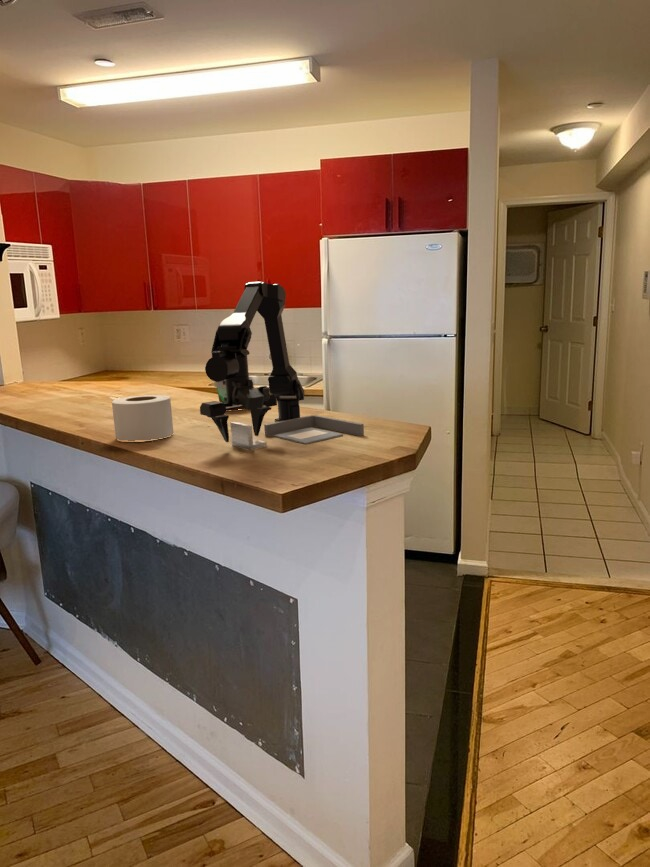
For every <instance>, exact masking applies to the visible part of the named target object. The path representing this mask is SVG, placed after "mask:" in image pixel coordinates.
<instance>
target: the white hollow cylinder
mask: <svg viewBox="0 0 650 867" xmlns="http://www.w3.org/2000/svg"><path fill="white" fill-rule="evenodd" d="M111 407H112V415H113V423H114V424H113V425H114V433H115V434H114V436H115V440H116V439H119V440H128V441H135V440H151V439H159V438H164V437H167V436H170V435H172V434H173V433H174V434H175V432H174V424H173V413H172V401H171V396H169V395H164V394H146V395H145V394H144V395H134V396H125V397H121V398H117V399H114V400H112V401H111Z"/></svg>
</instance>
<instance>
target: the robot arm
mask: <svg viewBox="0 0 650 867" xmlns="http://www.w3.org/2000/svg"><path fill="white" fill-rule="evenodd" d="M286 298H287V295H286V289H285V288H284V287H283V286H281V284H280V283H274V284H272V283H267V282H265V281H262V280H261V281H249V282H247V283H245V284H244V291H243V293H242V295H241V296H240V298H239V301H238V303H237V305H236V307H235V308H234V311H233V312H232V314H231V315H229V316H228V317H226V318H224V319H223V320H222V321H220V323H219V325H218V327H217V329H216V331H215V335H214V338H213V339H214V340H213V343H212V348H211V358H209V359H208V361H206V364H205V367H204V372H205V374H206V376H207V377H208V379H209V380H211V381H213V382H214V383H215V382H220V381H223V385H226V395H227V397H224V401H226V402H227V403H223V402H219V401H217V400H211V401H206V402H201V404H200V407H199V415H201V416H205V417H207V418H209V419H210V418H211V420H212V421H213V423H214V425H215V426H216V427H217V429H218V431H219V432H220V434H221V436H222V438H223V440H224V442H225V443H229V442H230V434H229V426H228V420H229V418H230V415H227V414H226V413H227V411H226V410H232V409H237V408H243V407H244V408H245V410H247V411H250V417H251V424H252V431H253V434H254V436H255V437H259V434H260V431H261V427H262V424H263V420H264V418H265V415H266V414H267V412H268V411H271V410H272V407H274V406H277V409H278V410H277V411H278V412H277V413H278V418H274V422H280V421H285V420H290V419H295V418H300V417H301V410H300V401H305V396H306V395H305V390H304V387H303V386H302V383H301V382H300V380H299V377H298V373H297V371H296V370H295V369H294V368H293V366H291V364H290V361H289V360H290V359H289V354H288V348H287V342H286V334H285V329H284V324H283V323H284V322H283V317H282V314H283V311H284V309H285V307H286ZM256 313H258V314H259V315H260V316H261V317H262V318H263V321H264V324H265V325H264V327H265V332H266V336H267V343H268V347H269V348H268V349H269V356H270V361H271V365H272V370H271V373H270V375H269V376H268V377H267V381H268V386H267V385H263V386H259V387H254V382H253V379H251V378H250V379H249V377H250V374H249V360H248V356H249V355H250V351H249V350H248V347H249V345H250V343H251V339H252V335H253V331H252V330H251V324H252V322H253V320H254V317H255V316H256Z"/></svg>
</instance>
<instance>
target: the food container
mask: <svg viewBox="0 0 650 867" xmlns="http://www.w3.org/2000/svg"><path fill="white" fill-rule="evenodd" d="M249 379H251V377H250V376H249ZM213 386H214V387H215V388H216V390H217V395H218V396H217V397H218V400H219V401H218V402H223V403H227V402H226V401H224V397H227V395H226V385H223V381H220V382H215V381H214V384H213ZM238 409H245V408H244V407H243V408H237V409H232V410H238ZM245 410H246V409H245Z"/></svg>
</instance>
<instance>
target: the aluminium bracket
mask: <svg viewBox="0 0 650 867" xmlns="http://www.w3.org/2000/svg"><path fill="white" fill-rule="evenodd" d="M229 424H230V433H231V444H232V446H233V447H235V448H236V447H237V448H238V449H239V448H240V449H242V450H247V451H252V450H258V449H261V448H265V447H268V446H267V441H263V440H261V439H256V438H254V437H253V425H250V424H247V423H242V422H238V421H231V422H230V423H229Z"/></svg>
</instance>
